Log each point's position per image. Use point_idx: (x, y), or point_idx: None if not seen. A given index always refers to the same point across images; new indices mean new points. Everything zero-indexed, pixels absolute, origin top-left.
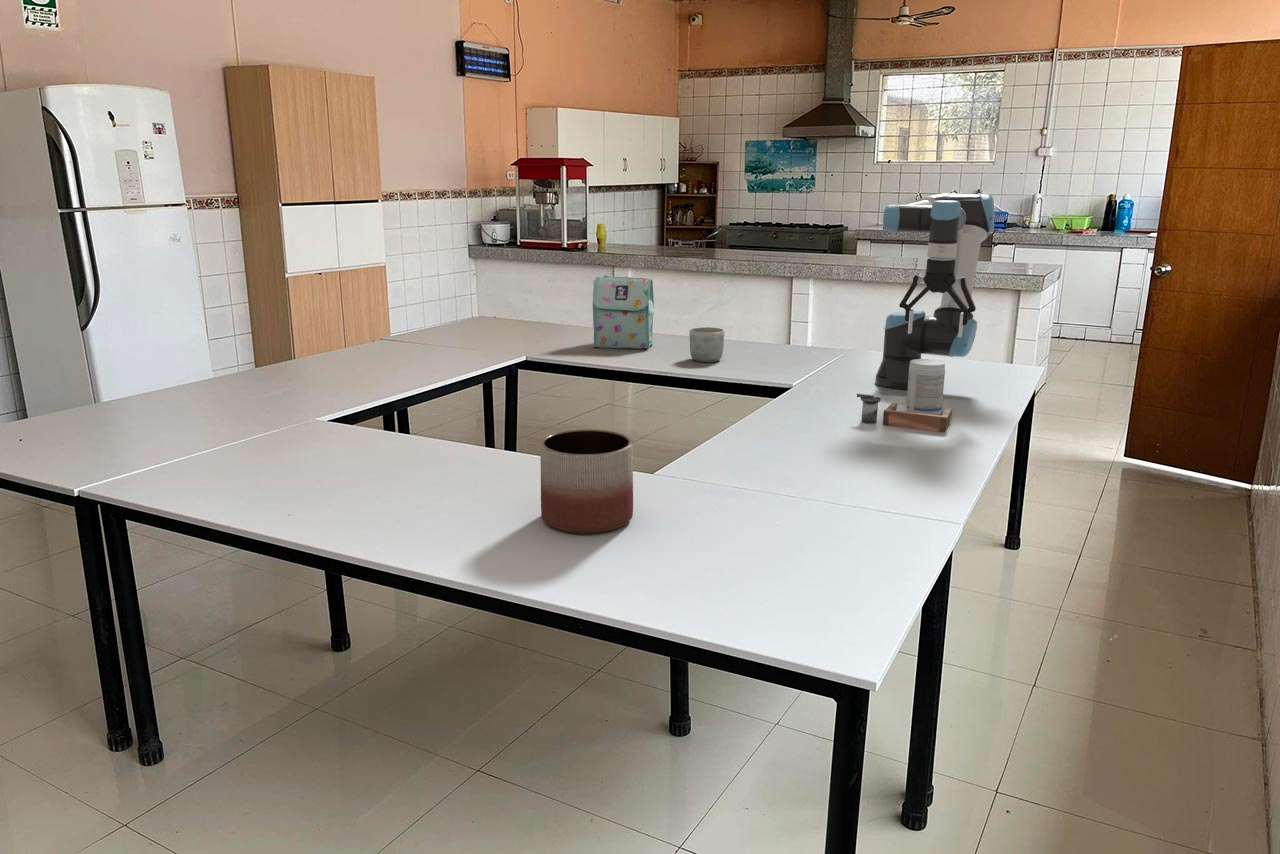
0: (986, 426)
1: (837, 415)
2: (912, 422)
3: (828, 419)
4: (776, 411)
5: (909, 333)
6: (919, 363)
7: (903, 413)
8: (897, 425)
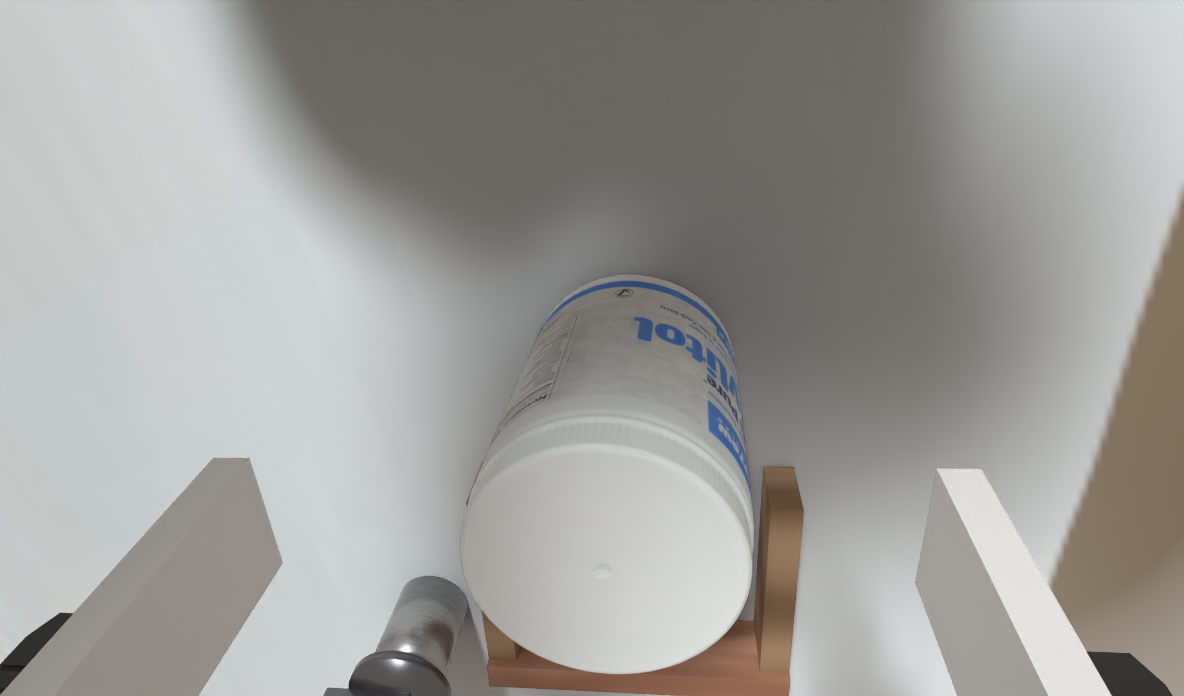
0: None
1: None
2: None
3: (274, 624)
4: (35, 588)
5: (269, 564)
6: (556, 644)
7: (583, 688)
8: None
